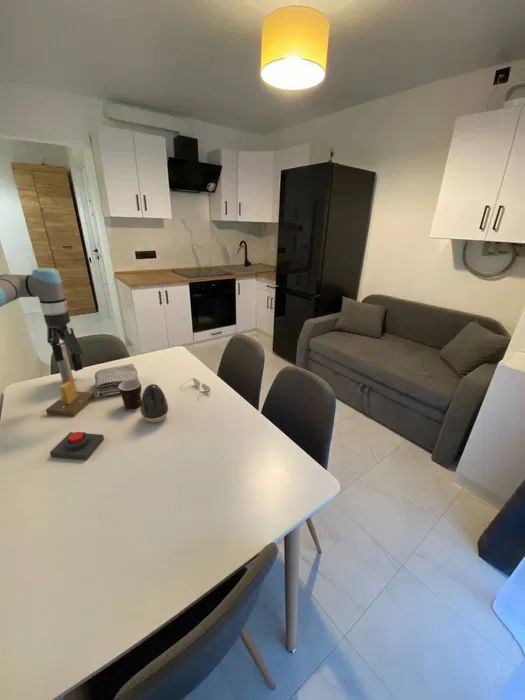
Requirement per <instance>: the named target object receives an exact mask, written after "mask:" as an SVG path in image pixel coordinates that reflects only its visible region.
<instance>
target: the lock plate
mask: <svg viewBox="0 0 525 700" xmlns="http://www.w3.org/2000/svg"><path fill="white" fill-rule="evenodd" d="M76 392H77V396H78V397H77V398H76V399H75V400H74V401H73V402H71V403H70V404H64V401H63V398H62V396H61V397H60V398H59V399H57V400H56V401H55V402H54V403H52V404H51V405H50V406H48V407H47V408H46V409H45V413H46V415H47V416H58V417H72V418H74V417H76V416H77V415H78V414H79V413H80V412H81V411H83V409H85V407H87V406H88V405H89V404H90V403H91V402H92V401H93V400H95V398H96V396H95V392H90V391H77V390H76Z"/></svg>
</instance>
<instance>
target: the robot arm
mask: <svg viewBox="0 0 525 700" xmlns="http://www.w3.org/2000/svg"><path fill="white" fill-rule="evenodd" d="M20 298H38V300H39V304H40V308H41V312H42V314H43V319H44V322H45V324H46V329H47V330H46V331H47V332H46V333H47V334H46V335H47V336H46V337H47V338H46V339H47V344H49V345H50V347H51V349H52V352H53V356H54V360H55V362H56V363H57V362H58V361H61V360H64V358H63V354H62V350H61V346H60V345H61V342H60V340H61V341H62V342H63V343H64V345H65V347H67V349H68V351H69V353H70V355H69V357H70V358H71V362H72V367H73V370H74V372H79V371H81V370H83V368H84V367H83V364H82V360H81V355H82V354H83V353H84V352H83V349H82V348H81V346H80V344H79V341H78V339H77V337H76V335H75V332H74V329H73V327H70V328H69V327H68V326H67V325H68V324H69V323H70V322H71V318H70V314H69V312H68V302H67V301H66V297H65V292H64V287H63V281H62V279H61V275H60V273H59V270H57V269H56V268H52V267H44V268H43V267H40V268H35V269H32V271H31V274H8V273H3V274H0V308H2V307H3V306H5V305H7V304H9V303H11V302H14V301H15V300H19V299H20Z"/></svg>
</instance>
